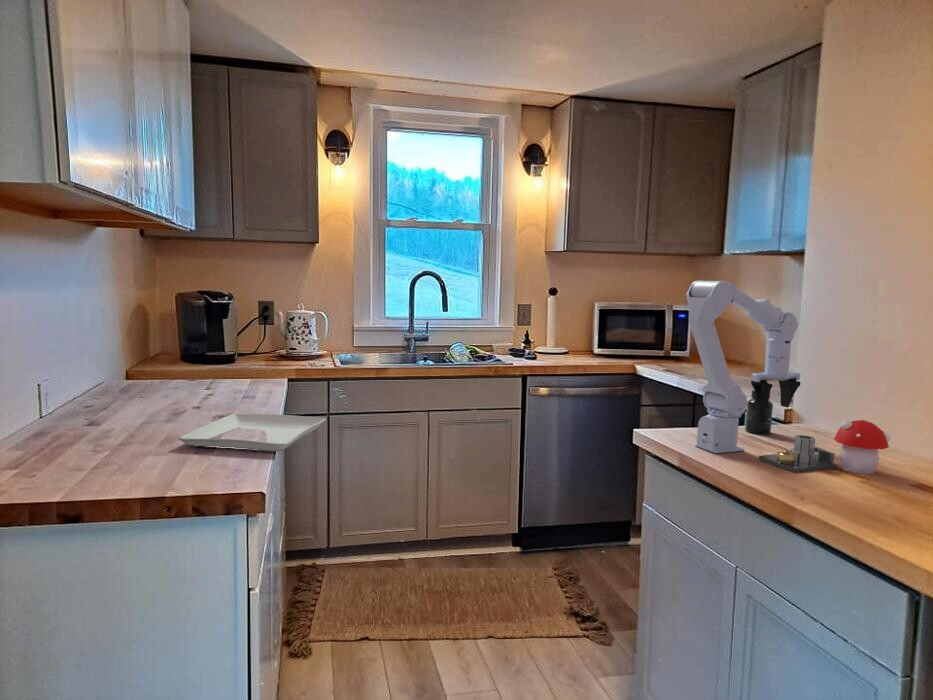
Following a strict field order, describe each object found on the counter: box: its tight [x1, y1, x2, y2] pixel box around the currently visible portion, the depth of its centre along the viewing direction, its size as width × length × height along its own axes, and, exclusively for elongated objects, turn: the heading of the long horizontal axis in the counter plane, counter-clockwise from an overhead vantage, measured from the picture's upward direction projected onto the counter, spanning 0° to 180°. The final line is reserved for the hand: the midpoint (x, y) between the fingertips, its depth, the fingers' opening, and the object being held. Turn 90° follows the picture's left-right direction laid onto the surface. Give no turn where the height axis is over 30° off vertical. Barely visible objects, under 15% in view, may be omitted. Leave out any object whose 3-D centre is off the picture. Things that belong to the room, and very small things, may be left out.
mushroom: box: [833, 419, 892, 475], centre depth 146 cm, size 11×11×12 cm
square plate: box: [178, 413, 326, 452], centre depth 161 cm, size 27×27×4 cm
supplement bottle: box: [744, 389, 774, 435], centre depth 182 cm, size 7×7×12 cm
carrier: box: [758, 446, 837, 473], centre depth 151 cm, size 13×10×4 cm
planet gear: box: [789, 434, 818, 463], centre depth 151 cm, size 6×6×6 cm
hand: (773, 407), depth 169 cm, fingers open, 7 cm apart
